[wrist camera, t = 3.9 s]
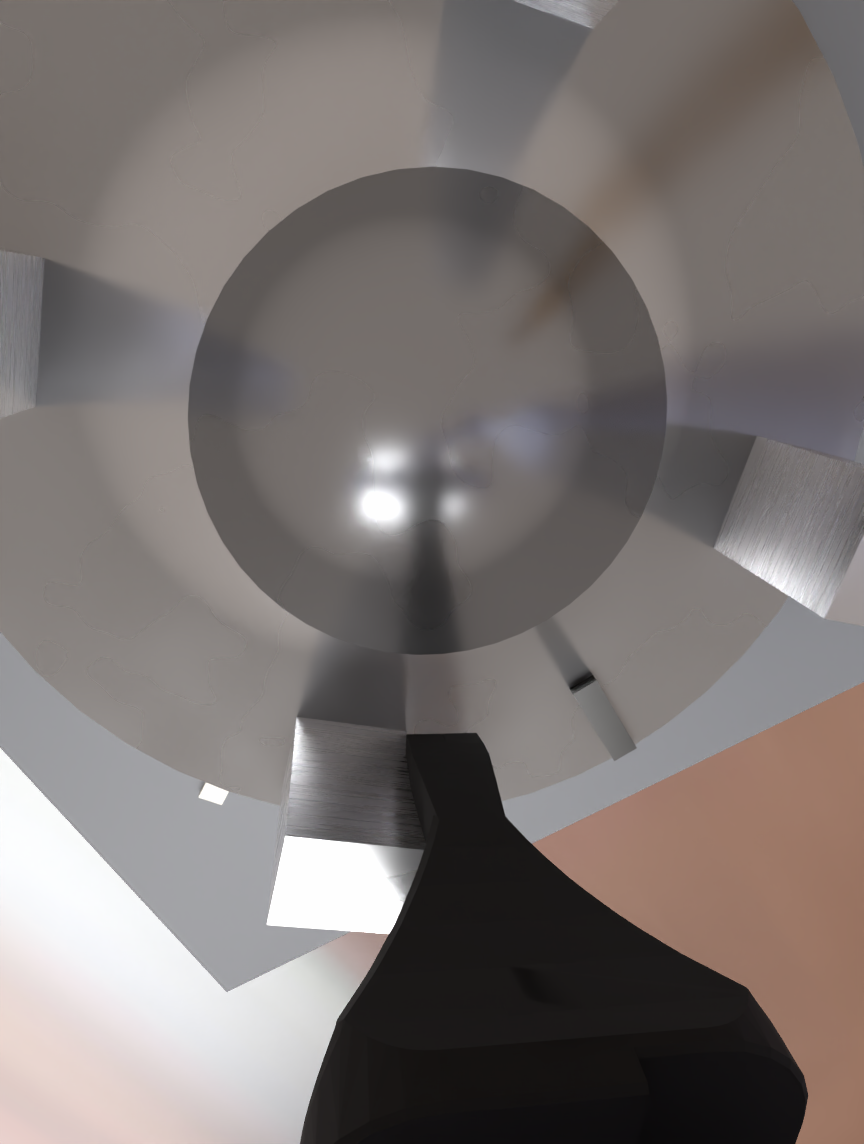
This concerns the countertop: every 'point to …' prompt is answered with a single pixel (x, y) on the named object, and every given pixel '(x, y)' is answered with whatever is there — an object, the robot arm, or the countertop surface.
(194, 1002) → the countertop surface
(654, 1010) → the robot arm
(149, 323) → the domed lug disc
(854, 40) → the cap plate
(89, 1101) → the countertop surface
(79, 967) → the countertop surface
